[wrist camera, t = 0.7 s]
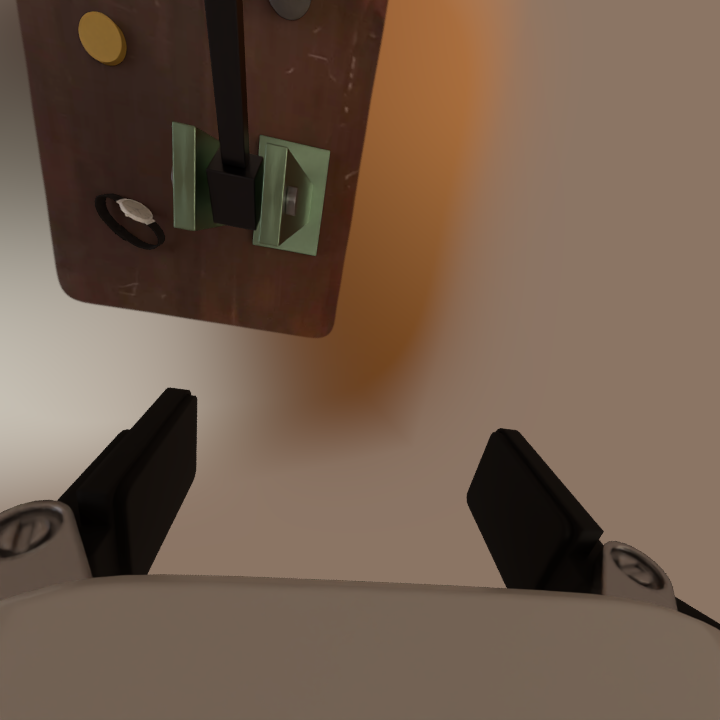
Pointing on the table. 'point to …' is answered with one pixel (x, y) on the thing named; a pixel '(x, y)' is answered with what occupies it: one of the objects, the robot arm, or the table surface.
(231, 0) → the lever
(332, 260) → the table surface
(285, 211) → the hand press
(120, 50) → the brass blank
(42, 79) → the table surface
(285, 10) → the planter
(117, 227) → the watch
